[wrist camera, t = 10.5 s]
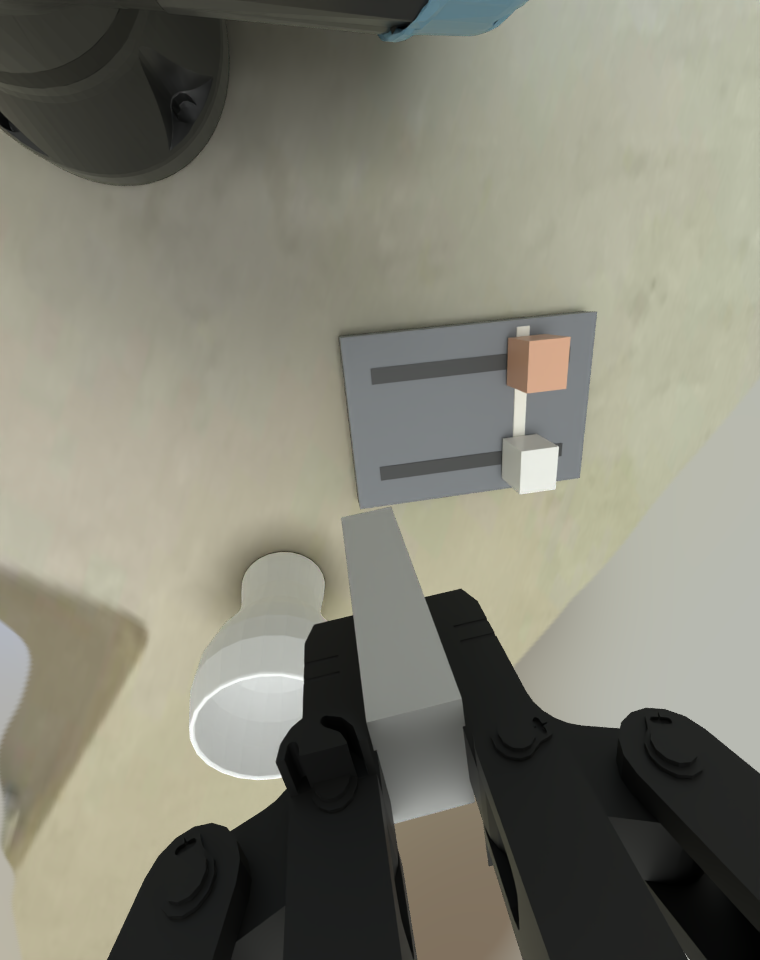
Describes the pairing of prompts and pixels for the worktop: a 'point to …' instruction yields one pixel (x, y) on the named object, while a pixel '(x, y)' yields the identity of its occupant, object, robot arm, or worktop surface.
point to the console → (456, 406)
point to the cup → (257, 669)
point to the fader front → (538, 362)
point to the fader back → (529, 463)
